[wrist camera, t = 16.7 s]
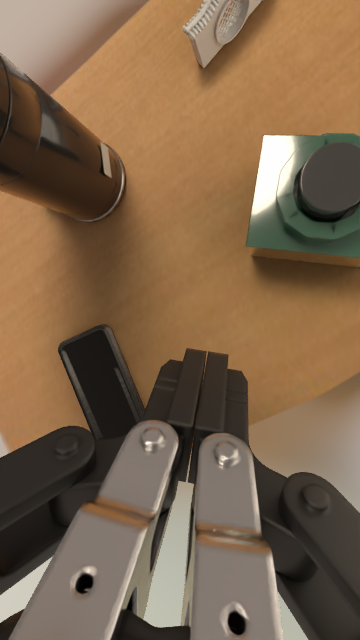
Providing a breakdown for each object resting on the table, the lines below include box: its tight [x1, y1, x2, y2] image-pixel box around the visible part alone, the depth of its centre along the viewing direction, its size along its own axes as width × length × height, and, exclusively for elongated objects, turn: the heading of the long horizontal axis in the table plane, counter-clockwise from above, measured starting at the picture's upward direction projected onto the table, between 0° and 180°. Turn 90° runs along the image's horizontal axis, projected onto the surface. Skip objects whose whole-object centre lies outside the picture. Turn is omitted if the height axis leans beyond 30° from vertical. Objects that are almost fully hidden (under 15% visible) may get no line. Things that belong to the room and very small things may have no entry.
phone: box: [58, 325, 145, 440], centre depth 40 cm, size 8×1×15 cm
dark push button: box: [297, 142, 360, 219], centre depth 22 cm, size 4×4×3 cm
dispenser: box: [246, 133, 360, 267], centre depth 28 cm, size 11×9×10 cm
